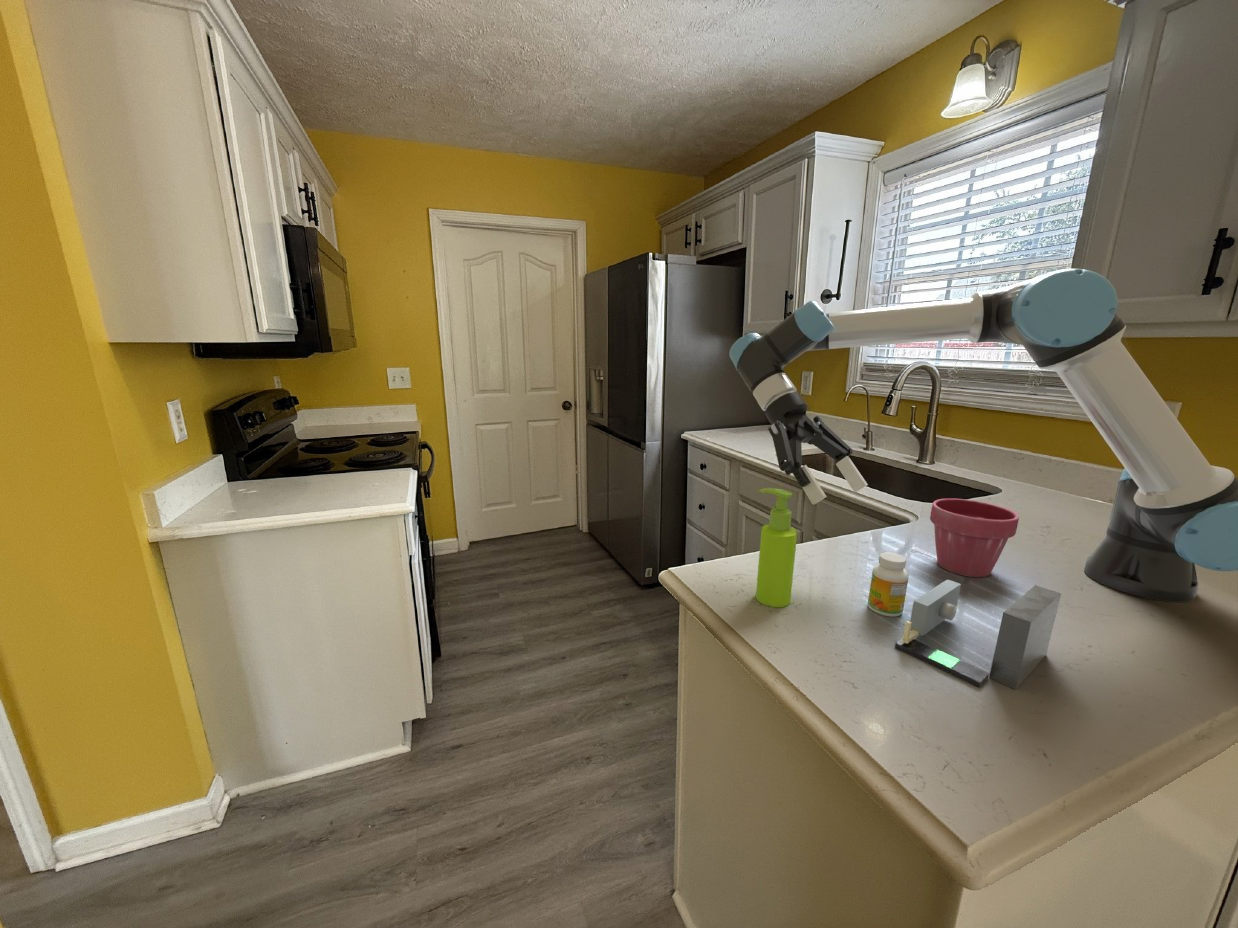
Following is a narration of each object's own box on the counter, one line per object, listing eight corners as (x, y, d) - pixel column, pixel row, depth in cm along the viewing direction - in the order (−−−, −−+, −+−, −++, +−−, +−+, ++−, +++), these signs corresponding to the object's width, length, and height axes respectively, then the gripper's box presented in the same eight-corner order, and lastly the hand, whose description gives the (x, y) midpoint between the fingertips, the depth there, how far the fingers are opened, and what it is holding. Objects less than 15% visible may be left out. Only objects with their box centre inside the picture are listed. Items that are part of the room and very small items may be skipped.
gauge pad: (897, 639, 75) (902, 607, 74) (942, 608, 84) (947, 579, 83) (922, 650, 72) (928, 617, 71) (965, 617, 81) (971, 587, 80)
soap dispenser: (761, 585, 94) (770, 483, 89) (796, 599, 89) (807, 491, 84) (744, 596, 90) (752, 489, 85) (779, 611, 85) (790, 499, 80)
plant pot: (962, 550, 110) (972, 495, 107) (1025, 579, 97) (1039, 517, 94) (907, 556, 107) (916, 499, 104) (964, 587, 94) (976, 523, 91)
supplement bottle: (861, 601, 88) (868, 550, 86) (890, 600, 89) (898, 549, 87) (879, 618, 83) (887, 564, 81) (909, 616, 84) (918, 563, 81)
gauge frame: (894, 647, 75) (904, 586, 73) (942, 613, 85) (952, 559, 82) (1006, 700, 64) (1021, 631, 62) (1046, 654, 74) (1061, 593, 71)
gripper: (804, 409, 109) (861, 493, 101) (726, 418, 94) (784, 516, 86) (830, 387, 103) (892, 474, 95) (751, 392, 89) (816, 495, 81)
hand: (841, 494), depth 91 cm, fingers open, 13 cm apart
